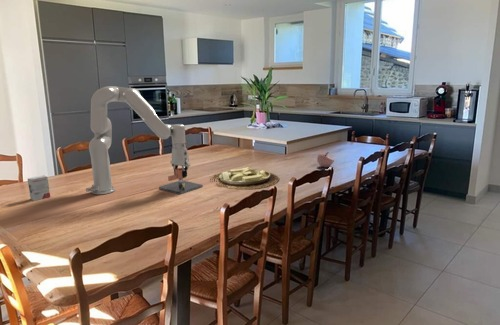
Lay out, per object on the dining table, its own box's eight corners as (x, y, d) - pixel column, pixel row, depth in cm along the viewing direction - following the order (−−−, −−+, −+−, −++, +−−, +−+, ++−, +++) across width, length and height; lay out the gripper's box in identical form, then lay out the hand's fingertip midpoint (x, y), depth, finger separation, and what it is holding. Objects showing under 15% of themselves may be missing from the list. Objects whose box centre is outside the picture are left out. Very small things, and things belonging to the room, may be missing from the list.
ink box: (46, 195, 205) (44, 174, 202) (50, 197, 202) (48, 176, 199) (30, 199, 199) (27, 178, 196) (33, 201, 196) (30, 179, 193)
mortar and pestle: (335, 169, 261) (335, 153, 259) (318, 169, 262) (318, 153, 259) (331, 165, 273) (332, 150, 270) (315, 165, 273) (316, 150, 271)
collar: (172, 181, 208) (172, 173, 207) (165, 180, 211) (165, 171, 210) (188, 177, 217) (187, 168, 216) (181, 175, 221) (180, 167, 220)
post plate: (180, 194, 206) (179, 182, 204) (159, 188, 216) (158, 177, 215) (202, 186, 220) (202, 175, 219) (181, 181, 230) (181, 171, 229)
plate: (291, 176, 244) (291, 166, 242) (257, 197, 207) (257, 185, 205) (234, 168, 266) (233, 159, 265) (194, 185, 229) (194, 175, 227)
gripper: (194, 146, 210) (195, 176, 215) (173, 143, 220) (175, 172, 225) (184, 148, 205) (186, 179, 209) (163, 145, 215) (165, 175, 219)
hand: (180, 175), depth 217 cm, fingers closed on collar, 6 cm apart
